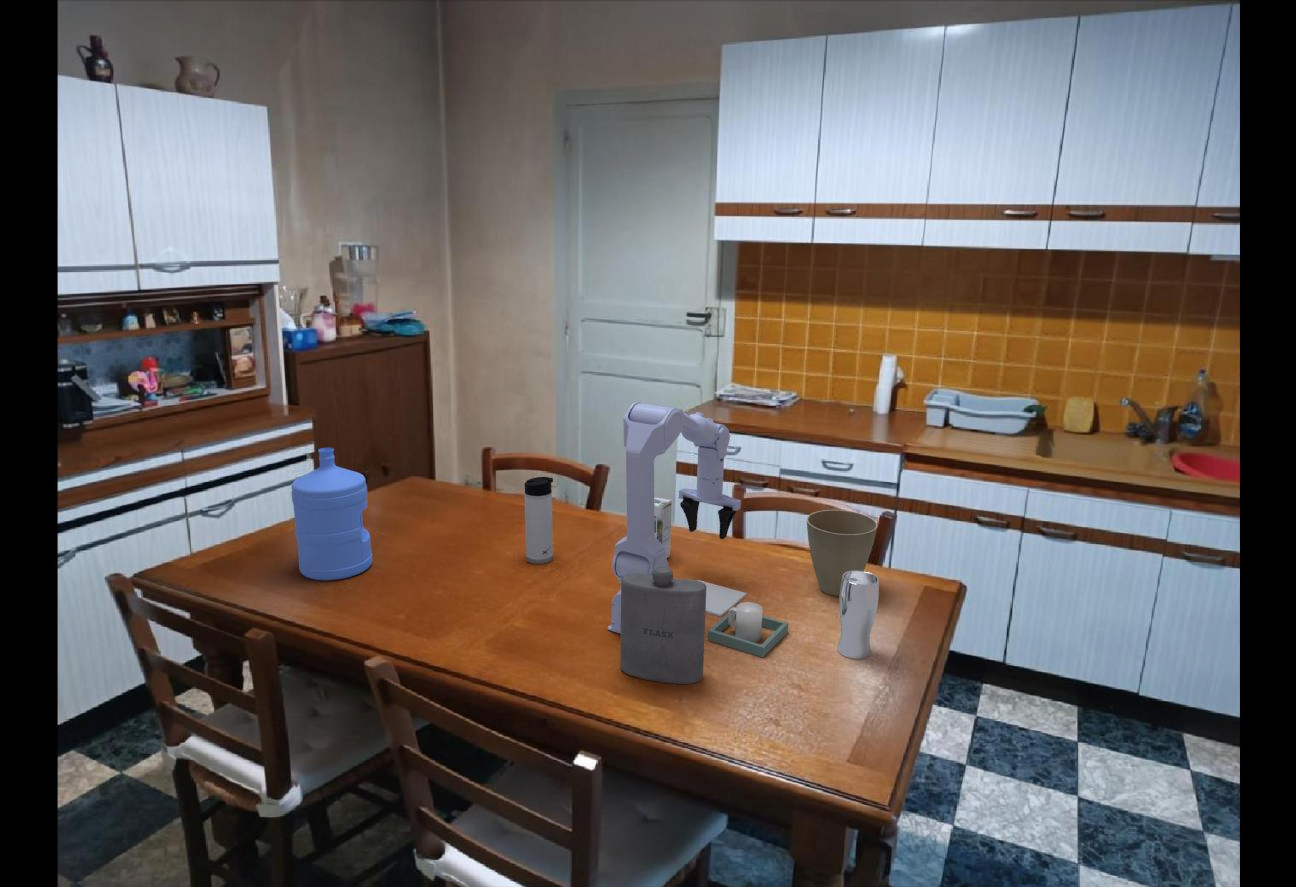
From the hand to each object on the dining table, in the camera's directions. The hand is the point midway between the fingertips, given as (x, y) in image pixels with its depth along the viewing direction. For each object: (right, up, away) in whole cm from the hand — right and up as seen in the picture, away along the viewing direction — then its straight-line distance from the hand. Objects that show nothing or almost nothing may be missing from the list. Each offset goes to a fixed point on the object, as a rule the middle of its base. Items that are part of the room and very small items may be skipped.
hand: (707, 534), depth 179 cm
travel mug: (-39, -7, +10) cm, 41 cm away
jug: (+6, -17, -24) cm, 30 cm away
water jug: (-85, -8, +4) cm, 85 cm away
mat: (0, -13, -9) cm, 15 cm away
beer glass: (+25, -19, -29) cm, 43 cm away
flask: (-11, -21, -38) cm, 44 cm away
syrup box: (-12, -7, +12) cm, 18 cm away
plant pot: (+28, -12, -3) cm, 31 cm away
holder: (+6, -17, -24) cm, 30 cm away
